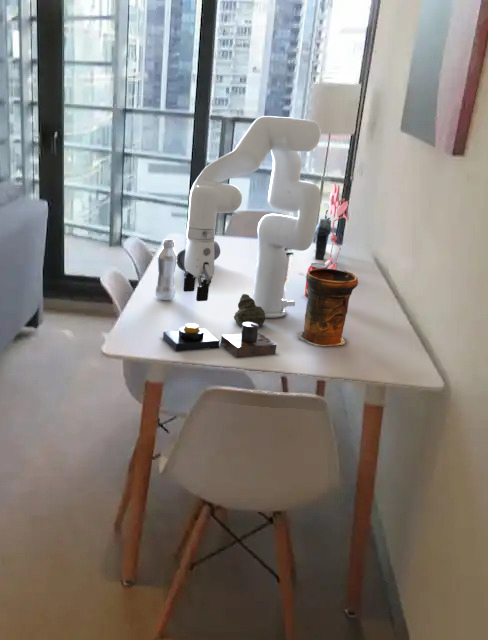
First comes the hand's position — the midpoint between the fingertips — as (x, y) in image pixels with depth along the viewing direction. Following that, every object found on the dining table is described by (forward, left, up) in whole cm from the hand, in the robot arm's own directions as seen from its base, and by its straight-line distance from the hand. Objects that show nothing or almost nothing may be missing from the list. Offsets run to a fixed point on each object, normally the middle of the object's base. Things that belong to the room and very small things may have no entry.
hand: (195, 295), depth 199 cm
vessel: (-40, +5, -14) cm, 43 cm away
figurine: (-81, -61, -14) cm, 102 cm away
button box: (0, 0, -14) cm, 14 cm away
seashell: (-24, -10, -14) cm, 30 cm away
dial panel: (-14, +8, -14) cm, 21 cm away
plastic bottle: (-8, -41, -14) cm, 44 cm away
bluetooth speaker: (-36, -77, -14) cm, 86 cm away
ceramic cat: (-99, -90, -14) cm, 135 cm away
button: (0, 0, -11) cm, 11 cm away
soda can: (-61, -33, -14) cm, 71 cm away
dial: (-14, +8, -11) cm, 19 cm away
